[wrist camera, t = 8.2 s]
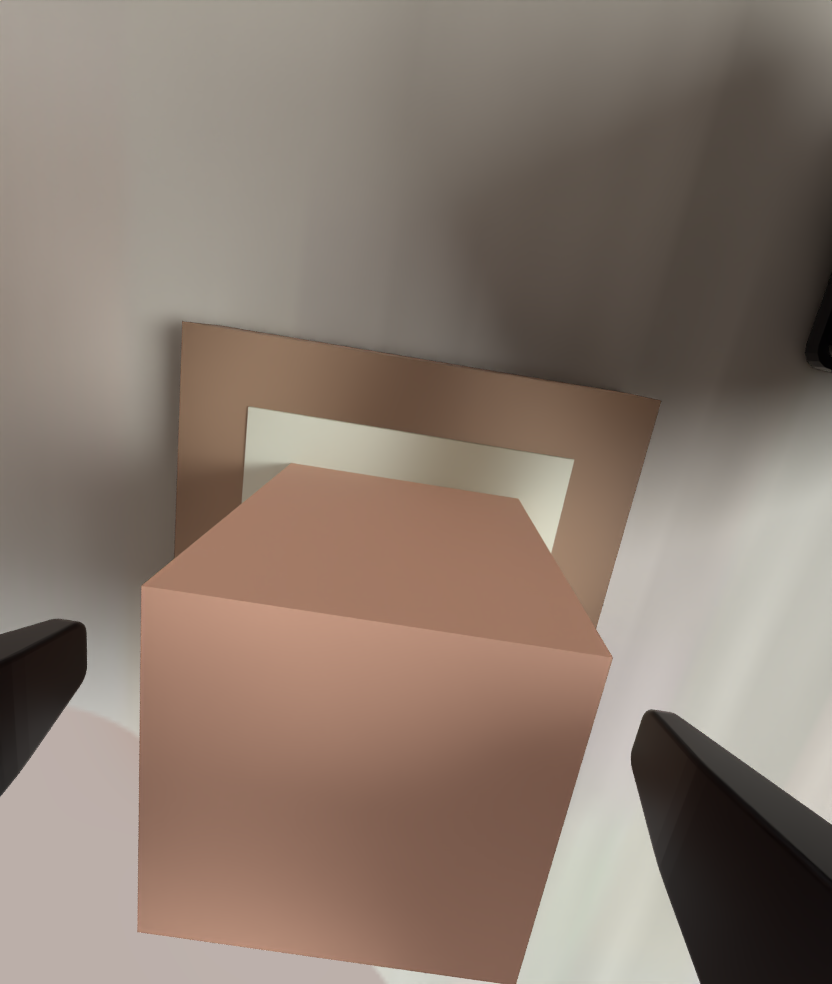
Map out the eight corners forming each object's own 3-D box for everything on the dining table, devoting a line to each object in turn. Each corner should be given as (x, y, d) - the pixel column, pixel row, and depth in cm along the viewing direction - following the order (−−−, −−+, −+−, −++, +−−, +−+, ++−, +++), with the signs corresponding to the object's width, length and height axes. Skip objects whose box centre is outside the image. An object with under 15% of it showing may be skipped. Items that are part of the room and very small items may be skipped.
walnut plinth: (625, 392, 13) (663, 401, 11) (535, 729, 15) (552, 787, 13) (220, 325, 12) (179, 321, 10) (201, 678, 15) (166, 729, 13)
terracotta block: (518, 498, 11) (612, 657, 5) (476, 692, 13) (515, 985, 7) (291, 462, 11) (141, 585, 5) (272, 661, 12) (137, 930, 7)
